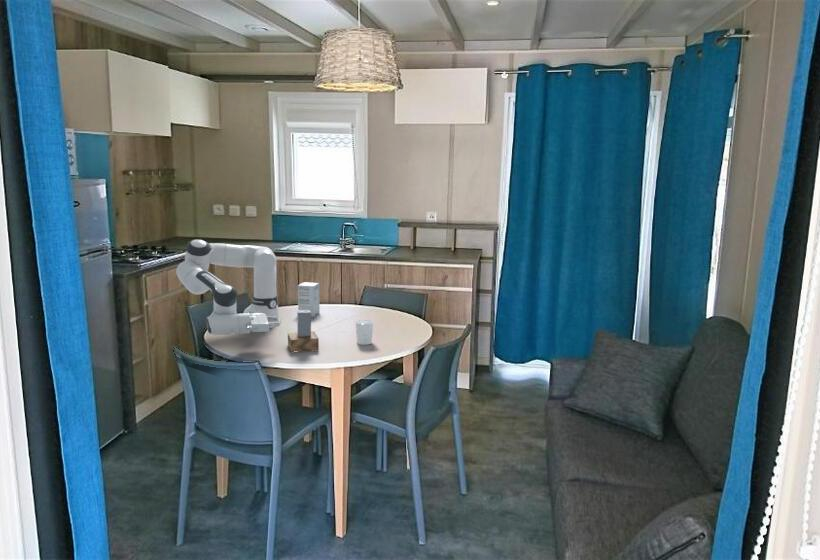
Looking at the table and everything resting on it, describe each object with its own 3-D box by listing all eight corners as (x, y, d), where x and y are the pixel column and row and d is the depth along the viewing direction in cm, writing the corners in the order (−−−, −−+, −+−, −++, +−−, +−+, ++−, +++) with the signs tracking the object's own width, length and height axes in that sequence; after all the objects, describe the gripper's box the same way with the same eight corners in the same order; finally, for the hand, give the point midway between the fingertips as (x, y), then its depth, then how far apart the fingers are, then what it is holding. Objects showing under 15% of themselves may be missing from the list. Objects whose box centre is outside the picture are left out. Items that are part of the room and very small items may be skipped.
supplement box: (304, 311, 355) (303, 281, 352) (320, 312, 353) (319, 282, 350) (297, 315, 346) (297, 285, 343) (314, 316, 344) (313, 285, 341)
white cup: (356, 340, 299) (356, 319, 297) (373, 340, 299) (373, 320, 297) (354, 345, 291) (354, 323, 289) (372, 345, 291) (372, 324, 289)
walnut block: (291, 353, 278) (290, 340, 277) (288, 345, 290) (287, 333, 289) (318, 351, 282) (318, 338, 281) (314, 344, 293) (314, 331, 292)
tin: (298, 337, 281) (297, 312, 280) (297, 334, 287) (297, 310, 285) (310, 336, 283) (310, 312, 281) (310, 333, 288) (309, 309, 286)
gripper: (246, 321, 266) (280, 319, 270) (244, 311, 285) (275, 309, 289) (247, 336, 267) (280, 334, 271) (244, 324, 286) (275, 322, 290)
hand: (278, 321), depth 280 cm, fingers open, 8 cm apart
